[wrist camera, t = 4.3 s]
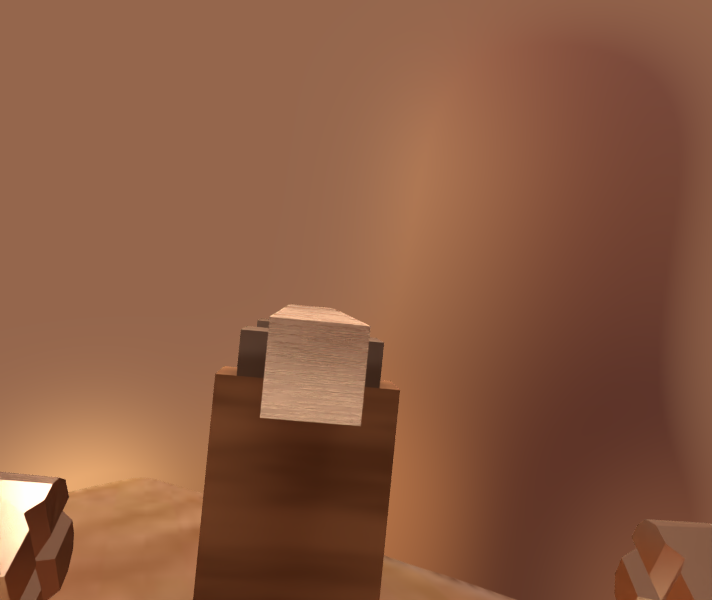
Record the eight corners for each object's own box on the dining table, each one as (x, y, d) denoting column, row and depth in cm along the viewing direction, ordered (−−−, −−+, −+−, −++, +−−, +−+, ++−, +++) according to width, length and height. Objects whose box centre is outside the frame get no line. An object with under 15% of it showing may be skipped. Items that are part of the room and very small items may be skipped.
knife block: (366, 958, 29) (426, 346, 29) (134, 954, 28) (196, 325, 28) (347, 753, 42) (388, 330, 42) (188, 746, 41) (230, 315, 41)
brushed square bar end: (360, 425, 20) (370, 326, 20) (260, 417, 20) (269, 316, 20) (328, 351, 46) (333, 308, 46) (285, 347, 45) (289, 304, 45)
